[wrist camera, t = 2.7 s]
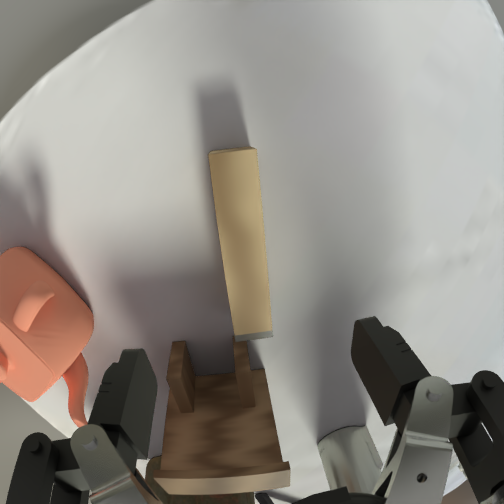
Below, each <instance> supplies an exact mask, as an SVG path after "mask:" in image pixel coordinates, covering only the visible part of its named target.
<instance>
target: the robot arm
mask: <svg viewBox="0 0 504 504" xmlns="http://www.w3.org/2000/svg"><path fill="white" fill-rule="evenodd" d="M351 357H352V361H353V364H354V366H355V368H356V370H357V372H358V374H359V376H360V378H361V380H362V382H363V384H364V386H365V387H366V389H367V391H368V393H369V395H370V397H371V399H372V401H373V403H374V405H375V407H376V409H377V411H378V413H379V415H380V417H381V419H382V421H383V423H384V425H385V426H387V425H390V424H393V423H395V424H396V426H397V430H396V432H395V436H394V439H393V442H392V445H391V448H390V451H389V454H388V457H387V460H386V463H385V466H384V468H383V471H382V472H381V468H382V466H383V463H382V460H381V458H380V456H379V454H378V451H377V449H376V447H375V444H374V442H373V440H372V438H371V435H370V433H369V431H368V428H367V426H363V427H357V426H355V427H347V428H343V429H340V430H337V431H335V432H333V433H331V434H329V435H327V436H326V437H324V438H323V439H322V440H321V441H320V442H319V444H318V450H319V454H320V457H321V460H322V463H323V467H324V470H325V473H326V477H327V480H328V483H329V487H330V491H326V492H322V493H318V494H313V495H311V496H309V497H306V498H304V499H302V500H299V501H297V502H295V503H292V504H441V501H442V497H443V493H444V489H445V485H446V481H447V477H448V472H449V467H450V462H451V456H452V450H453V449H454V451H455V453H456V455H457V457H458V459H459V461H460V463H461V465H462V467H463V469H464V472H465V474H466V476H467V478H468V480H469V482H470V485H471V487H472V489H473V492H474V494H475V496H476V498H477V501H478V503H479V504H504V382H503V381H502V380H501V378H500V377H499V376H498V375H497V374H495V373H494V372H491V371H487V370H484V371H480V372H478V373H476V374H475V375H474V376H473V378H472V380H471V382H470V383H463V384H455V385H450V383H449V382H448V381H446V380H445V379H443V378H441V377H437V376H431V375H430V373H429V372H428V371H427V369H426V368H425V367H424V365H423V364H422V363H421V361H420V360H419V358H418V357H417V356H416V354H415V353H414V352H413V350H411V348H410V346H409V345H408V344H407V343H406V341H405V340H404V339H403V337H402V336H401V335H400V333H399V332H397V331H396V330H394V329H392V328H391V327H389V326H386V327H383V326H382V324H381V323H380V322H379V320H378V319H377V318H376V317H375V316H373V317H368V318H364V319H359V320H356V321H355V324H354V332H353V339H352V346H351ZM101 383H102V385H100V388H99V393H98V394H97V397H96V400H95V403H94V406H93V409H92V412H91V415H90V418H89V421H88V424H87V425H84V426H81V427H80V428H78V429H77V430H76V431H75V432H74V433H73V435H72V437H71V438H68V439H62V440H56V441H51V440H50V439H49V438H48V436H47V435H45V434H43V433H39V432H37V433H33V434H30V435H29V436H28V437H27V438H26V439H25V440H24V441H23V443H22V446H21V449H20V452H19V455H18V459H17V462H16V465H15V469H14V472H13V476H12V480H11V484H10V488H9V492H8V496H7V501H6V504H88V499H89V498H90V501H91V503H92V504H163V503H162V502H161V500H160V499H159V498H158V497H157V495H156V494H155V493H154V491H153V490H152V489H151V487H150V486H149V485H148V483H147V482H146V481H145V479H144V478H143V477H142V475H141V474H140V472H139V471H138V469H137V468H136V462H137V459H144V460H147V456H148V449H149V441H150V434H151V427H152V420H153V413H154V407H155V401H156V395H157V380H156V376H155V374H154V372H153V369H152V367H151V365H150V362H149V360H148V358H147V355H146V353H145V351H144V349H124V350H123V351H122V354H121V357H120V360H119V363H113V364H112V365H111V366H110V367H109V368H108V369H107V371H106V372H105V374H104V377H103V380H102V382H101ZM481 423H483V424H484V426H485V428H486V429H487V431H488V433H489V434H490V436H491V438H492V440H493V443H492V441H491V439H490V437H489V436H488V434H487V432H486V430H485V429H484V427H483V425H482V424H481ZM448 439H449V441H450V442H448ZM53 483H54V485H53ZM52 486H53V490H52ZM89 490H91V491H92V495H90V496H89ZM51 492H52V496H51ZM50 497H51V502H50Z"/></svg>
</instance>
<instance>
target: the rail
mask: <svg viewBox="0 0 504 504" xmlns="http://www.w3.org/2000/svg"><path fill="white" fill-rule="evenodd" d="M208 156H209V164H210V172H211V180H212V188H213V196H214V203H215V210H216V218H217V225H218V232H219V239H220V246H221V253H222V259H223V266H224V273H225V279H226V285H227V292H228V298H229V304H230V311H231V317H232V323H233V329H234V335H235V341H236V342H240V341H248V340H255V339H262V338H269V337H273V333H272V320H271V307H270V294H269V282H268V270H267V258H266V246H265V234H264V223H263V212H262V201H261V190H260V179H259V168H258V158H257V149H255V148H253V147H240V148H231V149H223V150H215V151H211V152H210V153H209V154H208Z"/></svg>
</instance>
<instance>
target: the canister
mask: <svg viewBox="0 0 504 504" xmlns="http://www.w3.org/2000/svg"><path fill="white" fill-rule="evenodd" d="M161 458H162V456H159V457H154V458H152V459H151V460H150V461H149V462H148V464H147V467H146V475H145V481H146V482H147V483H148V485H149V486H150V487H151V489H152V490H153V491H154V493H155V494H156V495H157V497H158V498H159V499H160V500H161V502H162V503H163V504H255V500H254V492H243V493H230V494H209V495H179V494H168V493H167V492H166V491H165V490H164V489H163V488H162V487H161V486H160V485H159V484H158V483H157V481H156V480H155V479H154V478H153V473H154V470H160V468H161Z"/></svg>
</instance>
